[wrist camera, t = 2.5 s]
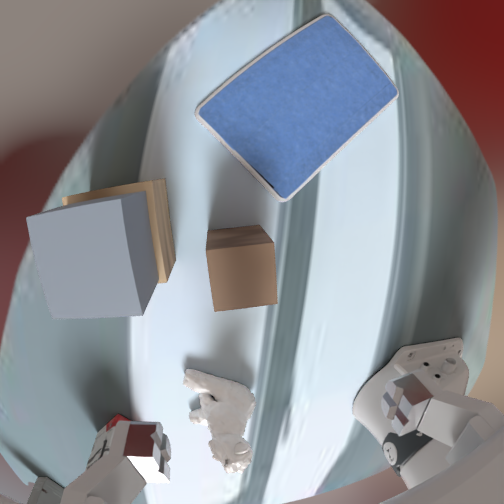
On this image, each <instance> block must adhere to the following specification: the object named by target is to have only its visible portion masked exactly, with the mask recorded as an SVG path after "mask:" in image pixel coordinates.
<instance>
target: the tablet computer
mask: <svg viewBox="0 0 504 504" xmlns="http://www.w3.org/2000/svg"><path fill="white" fill-rule="evenodd" d="M398 96H399V92H398V89H397V87H396V86H395V85H394V83H393V82H392V81H391V80H390V78H389V77H388V76H387V74H386V73H385V72H384V71H383V69H382V68H381V67H380V66H379V65H378V63H377V62H376V61H375V60H374V59H373V58H372V56H371V55H370V54H369V53H368V52H367V51H366V50H365V49H364V47H363V46H362V45H361V44H360V43H359V42H358V41H357V40H356V39H355V38H354V37H353V36H352V35H351V34H350V33H349V31H348V30H346V29H345V28H344V27H343V26H342V25H341V24H340V23H339V22H338V21H337V20H336V19H335V18H334V17H333V16H331V15H328V14H324V15H321V16H320V17H318V18H316V19H314V20H313V21H311V22H309V23H308V24H306V25H304V26H303V27H301V28H299V29H298V30H296V31H295V32H293V33H292V34H290V35H289V36H287V37H285V38H284V39H282V40H281V41H280V42H278V43H277V44H275V45H274V46H272V47H271V48H269V49H268V50H267V51H265V52H264V53H263V54H261V55H260V56H258V57H257V58H256V59H254V60H253V61H252V62H250V63H249V64H248V65H247V66H245V67H244V68H243V69H241V70H240V71H238V72H237V73H236V74H234V75H233V76H232V77H231V78H230V79H228V80H227V81H226V82H225V83H224V84H223V85H222V86H220V87H219V88H218V89H216V90H215V91H214V92H213V93H212V94H211V95H210V96H209V97H208V98H207V99H206V100H205V101H204V102H202V103H201V104H200V105H199V106H198V107H197V109H196V110H195V117H196V119H197V120H198V121H199V122H200V123H201V124H202V125H203V126H204V127H205V128H207V129H208V130H209V131H210V133H211V134H212V135H213V136H214V137H215V138H216V139H217V140H218V141H219V142H220V143H221V144H223V145H224V146H225V147H226V148H227V149H228V150H229V151H230V152H231V153H232V154H233V155H234V156H235V157H236V158H237V159H238V160H239V161H240V162H241V163H242V164H243V166H244V167H245V168H246V169H247V170H248V171H249V172H250V173H251V174H252V175H253V176H254V177H255V178H256V179H257V180H258V181H259V182H260V183H261V184H262V185H263V186H264V187H265V188H266V190H267V191H268V192H269V193H270V194H271V195H272V196H273V197H274V198H275V199H276V200H277V201H279V202H286V201H288V200H289V199H291V198H292V197H293V196H294V195H295V194H296V193H297V192H298V191H299V190H300V189H301V188H302V187H303V186H304V185H306V184H307V183H308V182H309V181H310V180H311V179H312V178H313V177H314V176H315V175H316V174H317V173H318V172H319V171H320V170H321V169H322V168H323V167H324V166H326V165H327V164H328V163H329V162H330V161H331V160H332V159H333V158H334V157H335V156H336V155H337V154H338V153H339V152H340V151H342V150H343V149H344V148H345V147H346V146H347V145H348V144H349V143H350V142H351V141H352V140H353V139H354V138H355V137H356V136H357V135H359V134H360V133H361V132H362V131H363V130H364V129H365V128H366V127H367V126H368V125H369V124H370V123H371V122H372V121H374V120H375V119H376V118H377V117H378V116H379V115H380V114H381V113H382V112H383V111H384V110H385V109H386V108H387V107H388V106H389V105H390V104H391V103H393V102H394V101H395V100H396V99H397V98H398Z"/></svg>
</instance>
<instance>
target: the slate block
mask: <svg viewBox="0 0 504 504" xmlns="http://www.w3.org/2000/svg"><path fill="white" fill-rule="evenodd" d="M26 219H27V224H28V230H29V235H30V240H31V245H32V250H33V254H34V259H35V263H36V267H37V271H38V274H39V278H40V282H41V285H42V289H43V292H44V295H45V298H46V302H47V305H48V308H49V311H50V314H51V316H52V319H84V318H108V317H127V316H143V314H144V312H145V309H146V307H147V305H148V303H149V300H150V298H151V296H152V294H153V292H154V289H155V287H156V285H157V283H158V281H159V276H158V271H157V265H156V259H155V253H154V247H153V241H152V234H151V227H150V220H149V213H148V205H147V197H146V191H141V192H134V193H128V194H121V195H115V196H110V197H104V198H98V199H93V200H88V201H82V202H77V203H72V204H68V205H64V206H61V207H57V208H54V209H51V210H48V211H45V212H41V213H38V214H35V215H32V216H29V217H27V218H26Z"/></svg>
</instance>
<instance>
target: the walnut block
mask: <svg viewBox="0 0 504 504" xmlns="http://www.w3.org/2000/svg"><path fill="white" fill-rule="evenodd" d="M206 257H207V264H208V271H209V278H210V285H211V292H212V299H213V305H214V312H217V311H226V310H234V309H242V308H250V307H257V306H265V305H272V304H278V302H277V283H276V265H275V249H274V242H273V241H272V239H271V238H270V237H269V236H268V235H267V233H266V232H265V231H264V230H263V229H262V227H261V226H260V225H254V226H245V227H235V228H226V229H217V230H209V231H208V232H207V242H206Z"/></svg>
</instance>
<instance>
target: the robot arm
mask: <svg viewBox="0 0 504 504" xmlns="http://www.w3.org/2000/svg"><path fill="white" fill-rule="evenodd" d="M462 354H463V341H462V340H461V339H460V338H453V339H447V340H442V341H436V342H430V343H424V344H417V345H410V346H404V347H402V348H400V349H399V350H398V351H397V353H396V354H395V355H394V356H393V358H392V359H391V360H390V362H389V363H388V364H387V365H386V366H385V367H384V368H383V369H381V370H380V371H379V372H378V373H376V374H375V375H374V376H373V377H372V378H371V379H370V380H369V381H368V382H367V383H366V384H365V385H364V387H363V388H362V389H361V391H360V392H359V394H358V395H357V397H356V399H355V401H354V404H353V415H354V417H355V418H356V419H357V420H358V421H359V422H360V423H362V424H363V425H364V426H365V427H366V428H367V429H368V430H369V431H370V432H371V433H372V434H373V436H374V437H375V438H376V439H377V440H378V442H379V443H380V444H381V446H382V449H383V452H384V454H385V456H386V458H387V460H388V462H389V463H390V465H391V466H392V468H393V469H394V471H395V472H396V474H397V475H398V476H399V477H402V478H403V480H404V482H405V483H406V485H407V487H408V489H409V490H408V491H405V492H403V493H401V494H399V495H397V496H395V497H393V498H390V499H388V500H386V501H384V502H381V503H379V504H504V415H503V414H502V413H501V412H500V411H499V410H498V409H497V408H496V407H495V406H494V405H493V404H492V403H489V402H486V401H482V400H478V399H475V398H471V397H468V396H464V395H465V391H466V387H467V383H468V379H469V369H468V367H467V365H466V363H465V362H464V361H463V360H462V359H461V358H462ZM170 459H171V447H170V442H169V439H168V437H167V435H165V434H164V433H163V427H162V425H161V423H160V422H140V421H118V422H117V424H116V427H115V431H114V434H113V438H112V442H111V446H110V450H109V454H108V455H104V456H102V457H101V458H100V459H99V460H98V461H97V462H96V463H94V464H93V465H92V466H91V467H90V468H88V469H87V470H86V471H85V472H84V473H83V474H81V475H80V476H79V477H78V478H77V479H75V480H74V481H73V482H72V483H70V484H69V485H68V486H67V487H66V488H64V491H63V495H62V499H61V503H60V504H131V503H132V502H133V500H134V499H135V498H136V497H137V495H138V494H139V493H140V492H141V490H142V489H143V488H144V486H145V485H146V484H147V483H146V482H152V483H169V481H170V467H169V465H168V464H167V462H168V461H169V460H170ZM0 504H23V503H21V502H18V501H16V500H14V499H12V498H10V497H8V496H6V495H4V494H2V493H0Z"/></svg>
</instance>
